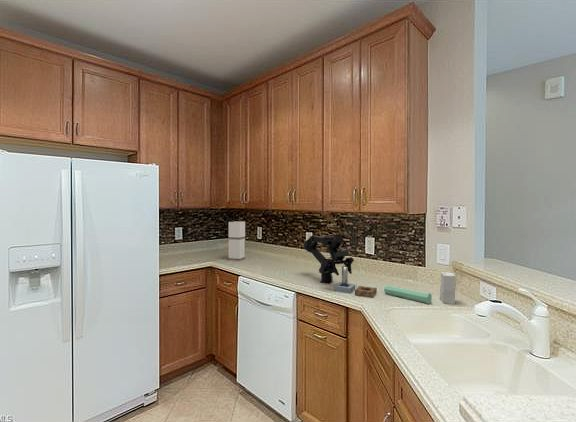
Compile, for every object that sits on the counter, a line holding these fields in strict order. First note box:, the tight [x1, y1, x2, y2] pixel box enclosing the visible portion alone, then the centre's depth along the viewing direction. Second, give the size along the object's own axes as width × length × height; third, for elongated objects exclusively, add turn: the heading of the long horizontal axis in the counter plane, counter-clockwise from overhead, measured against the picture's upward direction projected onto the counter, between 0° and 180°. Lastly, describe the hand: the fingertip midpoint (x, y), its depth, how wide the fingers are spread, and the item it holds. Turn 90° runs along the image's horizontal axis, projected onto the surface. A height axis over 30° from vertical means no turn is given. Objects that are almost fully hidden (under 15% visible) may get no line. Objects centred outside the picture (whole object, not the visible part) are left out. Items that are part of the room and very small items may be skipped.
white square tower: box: [228, 220, 246, 262], centre depth 275 cm, size 11×11×35 cm
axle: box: [341, 265, 349, 287], centre depth 178 cm, size 3×3×14 cm
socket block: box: [333, 281, 356, 295], centre depth 178 cm, size 10×10×3 cm
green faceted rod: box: [383, 285, 433, 305], centre depth 163 cm, size 6×6×25 cm
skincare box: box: [439, 271, 457, 305], centre depth 158 cm, size 8×6×15 cm
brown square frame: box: [354, 285, 378, 299], centre depth 170 cm, size 10×10×3 cm
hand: (344, 274), depth 177 cm, fingers open, 9 cm apart
